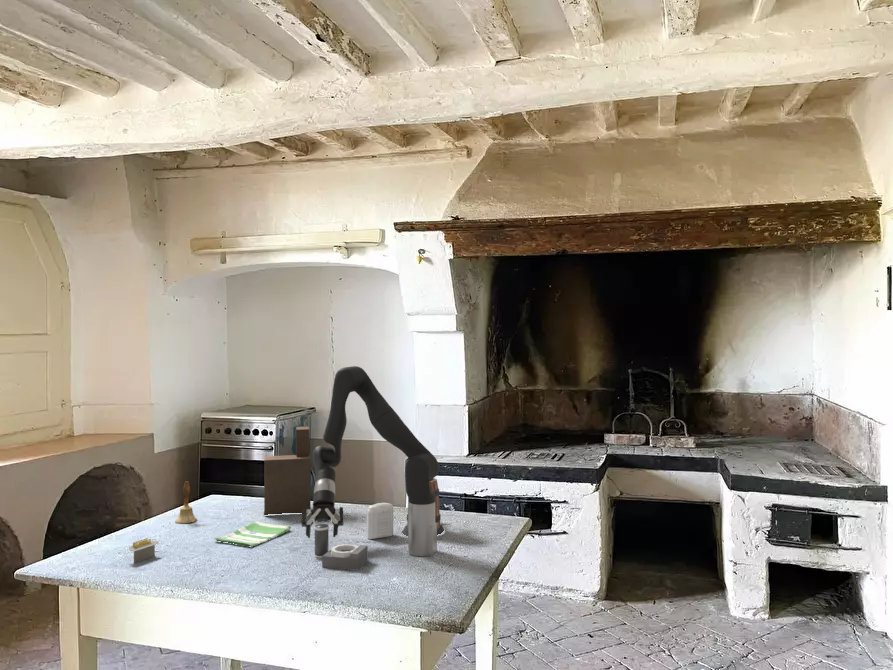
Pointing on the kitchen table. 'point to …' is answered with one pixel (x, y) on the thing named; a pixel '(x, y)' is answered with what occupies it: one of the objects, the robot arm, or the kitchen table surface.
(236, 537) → the dish towel
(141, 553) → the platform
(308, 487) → the brown box with post
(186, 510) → the hand bell
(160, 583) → the kitchen table surface
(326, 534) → the lens
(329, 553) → the camera body
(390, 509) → the photo printer
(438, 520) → the tankard
